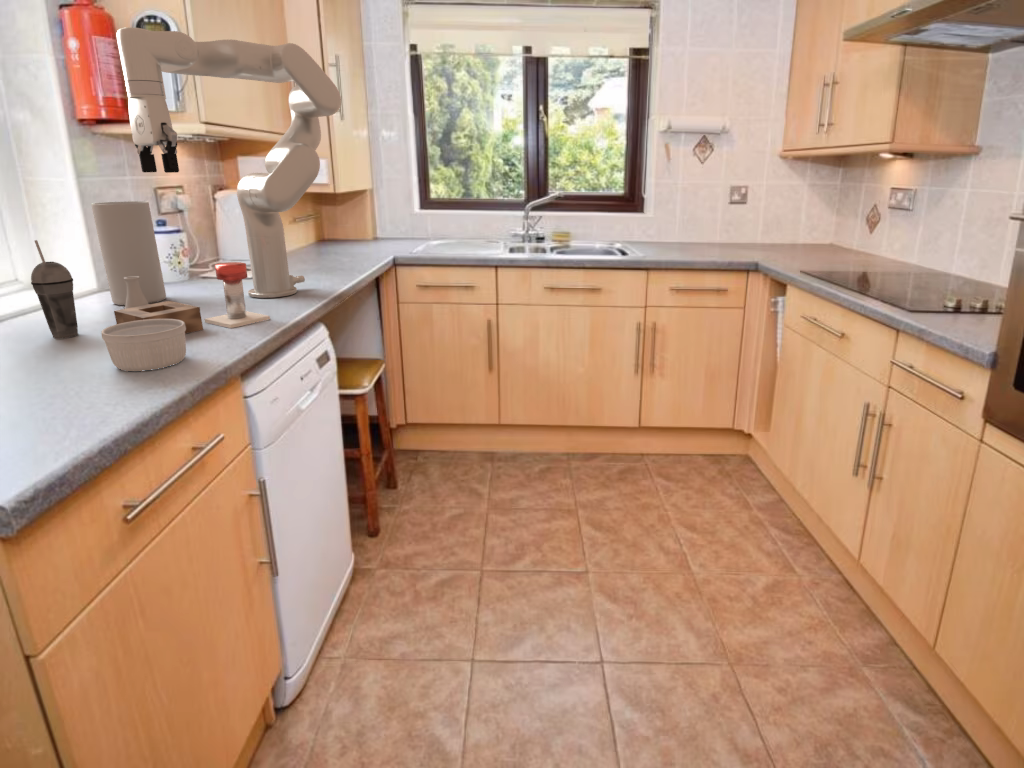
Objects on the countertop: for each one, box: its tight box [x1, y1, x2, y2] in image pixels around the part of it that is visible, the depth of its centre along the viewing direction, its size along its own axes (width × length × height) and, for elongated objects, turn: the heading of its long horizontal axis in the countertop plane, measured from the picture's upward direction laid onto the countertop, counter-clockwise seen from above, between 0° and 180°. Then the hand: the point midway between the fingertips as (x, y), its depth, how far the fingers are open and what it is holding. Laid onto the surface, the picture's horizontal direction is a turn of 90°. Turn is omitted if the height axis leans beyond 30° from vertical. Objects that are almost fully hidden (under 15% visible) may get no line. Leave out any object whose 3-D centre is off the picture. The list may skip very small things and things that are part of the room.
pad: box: [204, 310, 271, 329], centre depth 147 cm, size 10×10×1 cm
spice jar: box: [214, 261, 248, 319], centre depth 145 cm, size 6×6×12 cm
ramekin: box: [100, 319, 187, 372], centre depth 116 cm, size 13×13×7 cm
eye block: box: [113, 300, 204, 335], centre depth 138 cm, size 12×12×5 cm
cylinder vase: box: [91, 200, 167, 306], centre depth 165 cm, size 12×12×25 cm
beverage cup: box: [30, 239, 79, 339], centre depth 133 cm, size 7×7×20 cm
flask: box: [124, 276, 149, 309], centre depth 147 cm, size 7×7×10 cm
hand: (160, 172), depth 149 cm, fingers open, 9 cm apart
